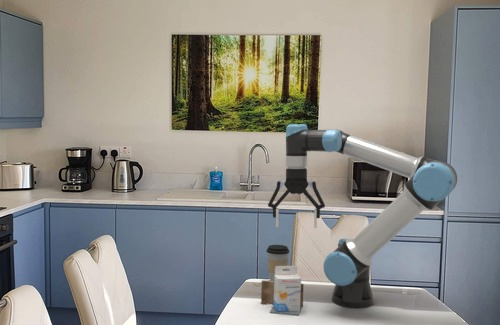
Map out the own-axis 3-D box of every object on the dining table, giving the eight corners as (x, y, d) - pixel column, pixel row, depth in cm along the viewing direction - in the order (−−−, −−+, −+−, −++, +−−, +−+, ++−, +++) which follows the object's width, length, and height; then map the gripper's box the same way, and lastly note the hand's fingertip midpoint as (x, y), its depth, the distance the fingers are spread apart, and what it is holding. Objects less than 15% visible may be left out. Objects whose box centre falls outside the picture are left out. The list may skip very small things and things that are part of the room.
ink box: (276, 312, 185) (277, 269, 184) (273, 307, 190) (274, 265, 189) (300, 311, 187) (301, 268, 186) (296, 306, 192) (297, 265, 191)
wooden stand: (303, 304, 195) (303, 283, 194) (302, 308, 191) (302, 285, 191) (262, 300, 198) (263, 279, 198) (260, 304, 195) (261, 282, 194)
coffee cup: (286, 287, 216) (287, 250, 215) (263, 285, 218) (264, 248, 217) (290, 280, 225) (290, 245, 224) (267, 279, 227) (268, 243, 226)
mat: (301, 308, 191) (302, 306, 191) (298, 315, 183) (298, 314, 183) (274, 305, 193) (274, 304, 193) (269, 312, 186) (269, 311, 186)
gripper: (331, 167, 195) (331, 225, 196) (262, 166, 198) (262, 224, 199) (332, 168, 187) (331, 229, 188) (260, 168, 191) (260, 228, 192)
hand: (296, 227), depth 194 cm, fingers open, 13 cm apart
